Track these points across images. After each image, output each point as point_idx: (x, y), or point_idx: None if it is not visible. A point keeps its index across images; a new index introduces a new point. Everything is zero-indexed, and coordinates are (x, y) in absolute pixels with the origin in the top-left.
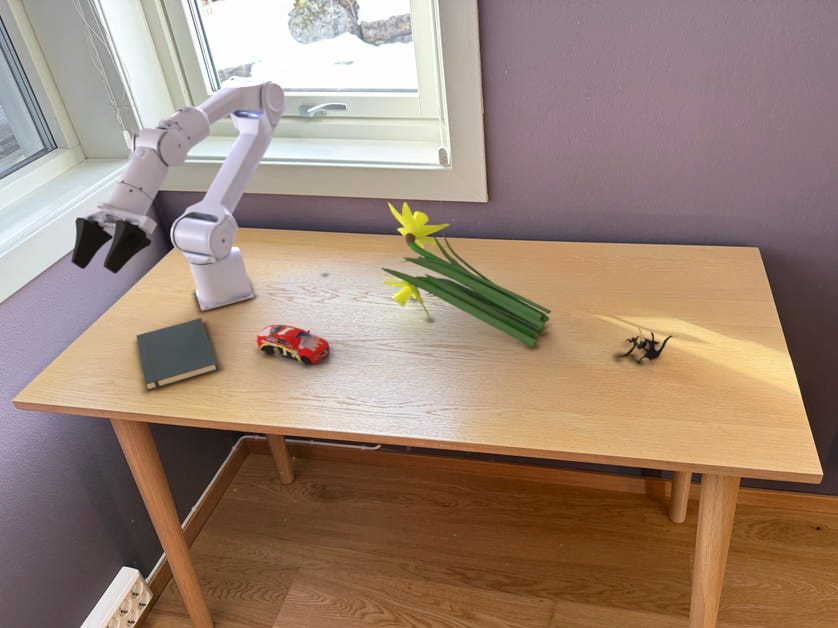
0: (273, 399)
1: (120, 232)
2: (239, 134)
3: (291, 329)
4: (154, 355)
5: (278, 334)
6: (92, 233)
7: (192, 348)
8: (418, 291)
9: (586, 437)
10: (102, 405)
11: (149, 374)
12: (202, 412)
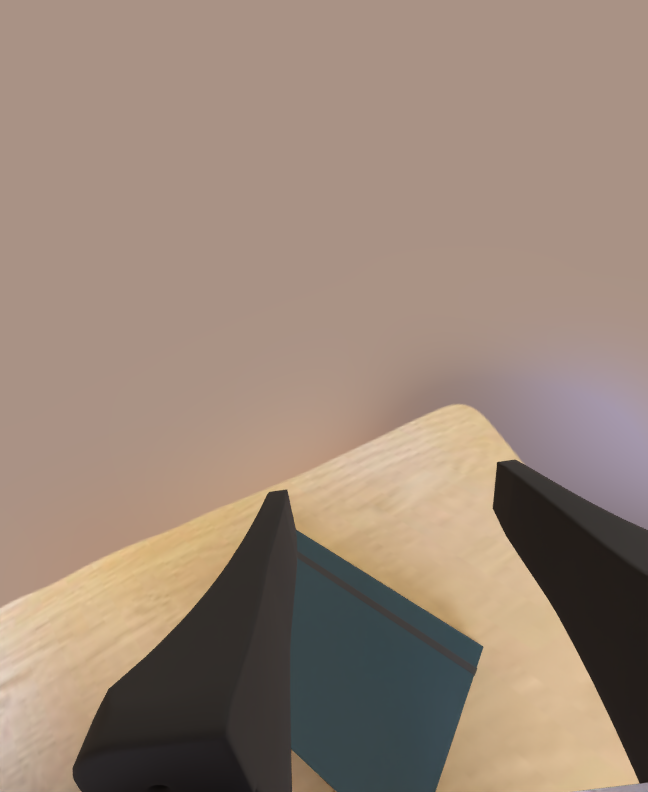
0: (58, 650)
1: (185, 640)
2: None
3: None
4: (357, 606)
5: None
6: (639, 647)
7: (299, 686)
8: None
9: None
10: (333, 460)
11: (308, 550)
12: (164, 545)
